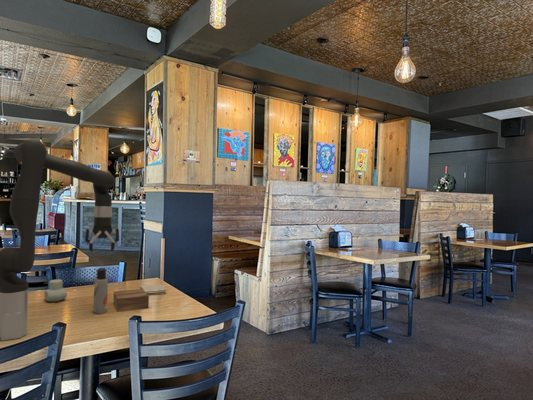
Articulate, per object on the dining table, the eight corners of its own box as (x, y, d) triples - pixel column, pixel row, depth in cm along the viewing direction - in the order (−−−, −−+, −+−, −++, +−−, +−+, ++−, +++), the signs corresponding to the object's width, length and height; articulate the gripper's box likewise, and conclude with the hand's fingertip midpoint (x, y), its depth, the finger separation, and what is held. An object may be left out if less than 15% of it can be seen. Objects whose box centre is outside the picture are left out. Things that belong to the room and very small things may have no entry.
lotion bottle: (108, 310, 173) (110, 267, 173) (103, 314, 167) (105, 270, 167) (96, 309, 173) (97, 267, 172) (91, 313, 167) (92, 269, 167)
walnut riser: (148, 308, 178) (148, 295, 178) (117, 311, 171) (117, 299, 171) (142, 300, 190) (142, 289, 190) (113, 303, 183) (113, 291, 183)
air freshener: (43, 299, 186) (43, 279, 186) (61, 296, 192) (61, 277, 192) (49, 304, 179) (49, 283, 178) (67, 301, 184) (68, 281, 184)
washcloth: (145, 297, 198) (145, 291, 198) (139, 289, 214) (139, 283, 214) (167, 294, 204) (167, 289, 204) (160, 287, 220) (160, 282, 220)
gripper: (86, 216, 163) (85, 253, 163) (120, 216, 170) (119, 251, 170) (85, 215, 169) (84, 250, 169) (118, 215, 176) (117, 249, 176)
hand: (101, 251), depth 170 cm, fingers open, 8 cm apart
